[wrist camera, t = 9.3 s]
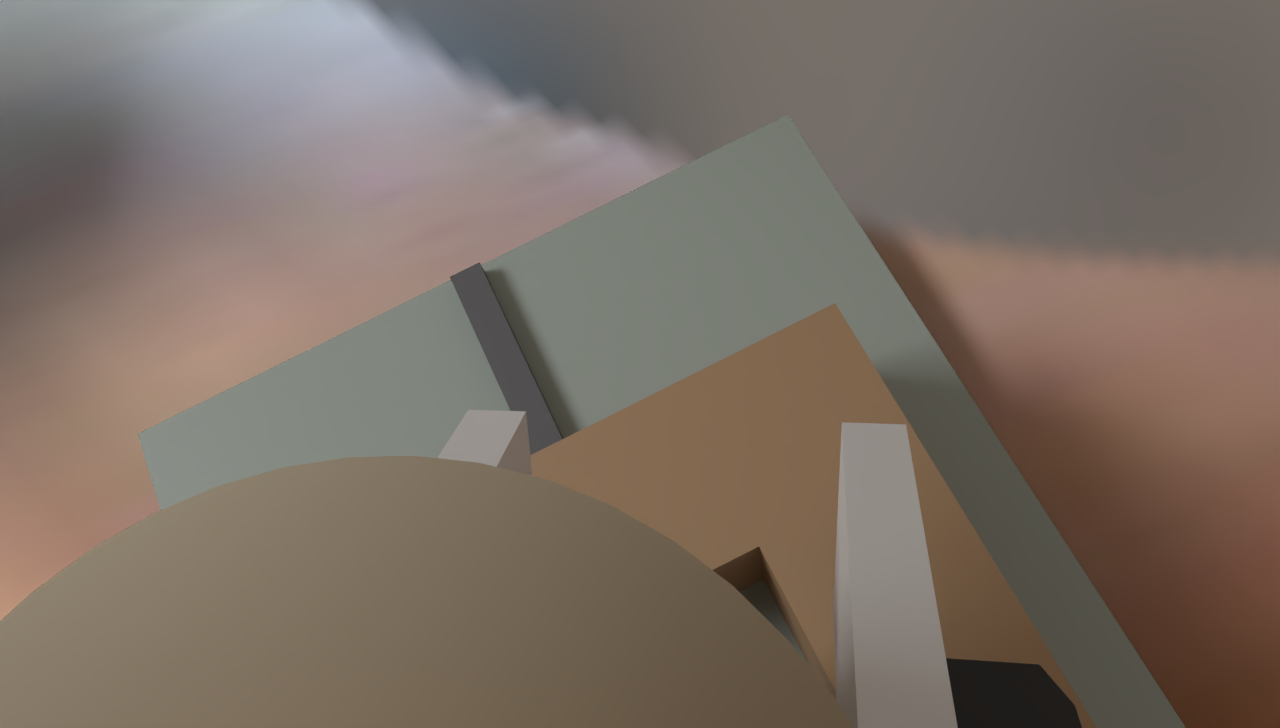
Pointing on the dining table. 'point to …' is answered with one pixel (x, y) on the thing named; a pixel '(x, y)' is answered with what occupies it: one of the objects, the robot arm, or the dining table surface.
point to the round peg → (397, 615)
